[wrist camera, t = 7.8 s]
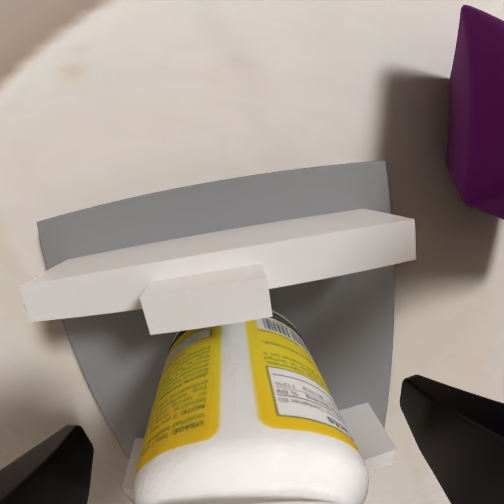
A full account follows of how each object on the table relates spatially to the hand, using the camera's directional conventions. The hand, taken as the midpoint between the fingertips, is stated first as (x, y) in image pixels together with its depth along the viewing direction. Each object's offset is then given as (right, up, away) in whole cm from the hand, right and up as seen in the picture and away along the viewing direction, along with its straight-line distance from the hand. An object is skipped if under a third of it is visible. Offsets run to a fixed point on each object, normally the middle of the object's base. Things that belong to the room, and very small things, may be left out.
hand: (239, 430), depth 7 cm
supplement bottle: (0, +1, +4) cm, 4 cm away
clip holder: (0, +1, +4) cm, 4 cm away
